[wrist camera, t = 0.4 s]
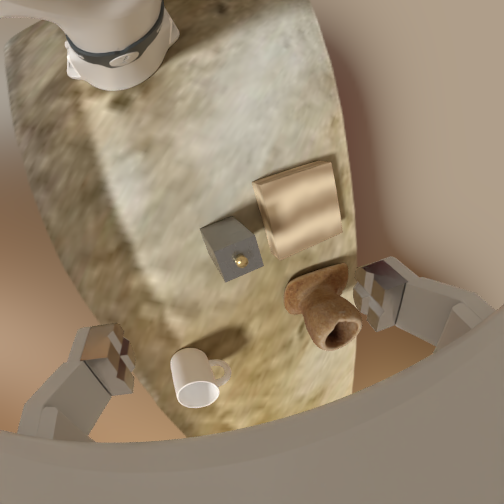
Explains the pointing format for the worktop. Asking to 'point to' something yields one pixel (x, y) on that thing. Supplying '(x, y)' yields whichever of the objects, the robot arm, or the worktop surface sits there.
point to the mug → (196, 377)
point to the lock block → (232, 248)
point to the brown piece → (324, 306)
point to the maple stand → (299, 207)
